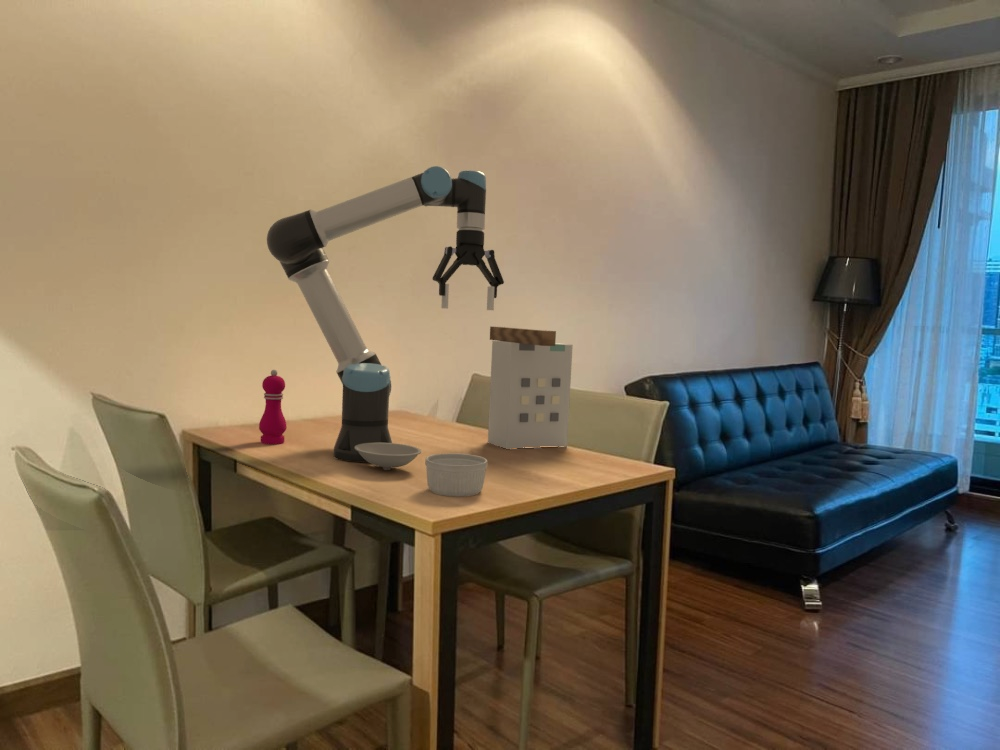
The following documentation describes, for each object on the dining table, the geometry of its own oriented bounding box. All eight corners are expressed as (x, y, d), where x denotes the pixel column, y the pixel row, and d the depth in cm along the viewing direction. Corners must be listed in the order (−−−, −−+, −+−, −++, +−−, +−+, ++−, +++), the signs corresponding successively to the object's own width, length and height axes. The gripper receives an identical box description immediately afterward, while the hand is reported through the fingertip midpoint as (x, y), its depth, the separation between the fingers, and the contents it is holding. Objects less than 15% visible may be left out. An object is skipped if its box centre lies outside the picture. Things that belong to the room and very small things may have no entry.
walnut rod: (555, 346, 208) (555, 331, 208) (542, 345, 207) (543, 330, 206) (501, 340, 237) (502, 326, 237) (489, 339, 235) (490, 326, 235)
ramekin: (470, 501, 157) (472, 467, 156) (412, 493, 162) (414, 460, 161) (495, 489, 169) (496, 457, 169) (440, 481, 174) (442, 450, 173)
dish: (434, 472, 183) (435, 451, 183) (387, 479, 173) (388, 457, 172) (387, 460, 195) (387, 440, 195) (339, 466, 185) (340, 445, 184)
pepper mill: (290, 441, 215) (291, 369, 214) (280, 445, 208) (282, 371, 207) (264, 439, 216) (266, 368, 215) (254, 443, 209) (255, 369, 207)
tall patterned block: (568, 447, 227) (573, 344, 224) (507, 450, 218) (512, 343, 215) (546, 440, 238) (551, 342, 236) (487, 442, 229) (492, 340, 227)
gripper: (505, 235, 218) (502, 310, 220) (422, 227, 207) (419, 307, 209) (517, 233, 212) (514, 311, 213) (432, 225, 200) (430, 307, 202)
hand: (467, 309), depth 211 cm, fingers open, 13 cm apart
